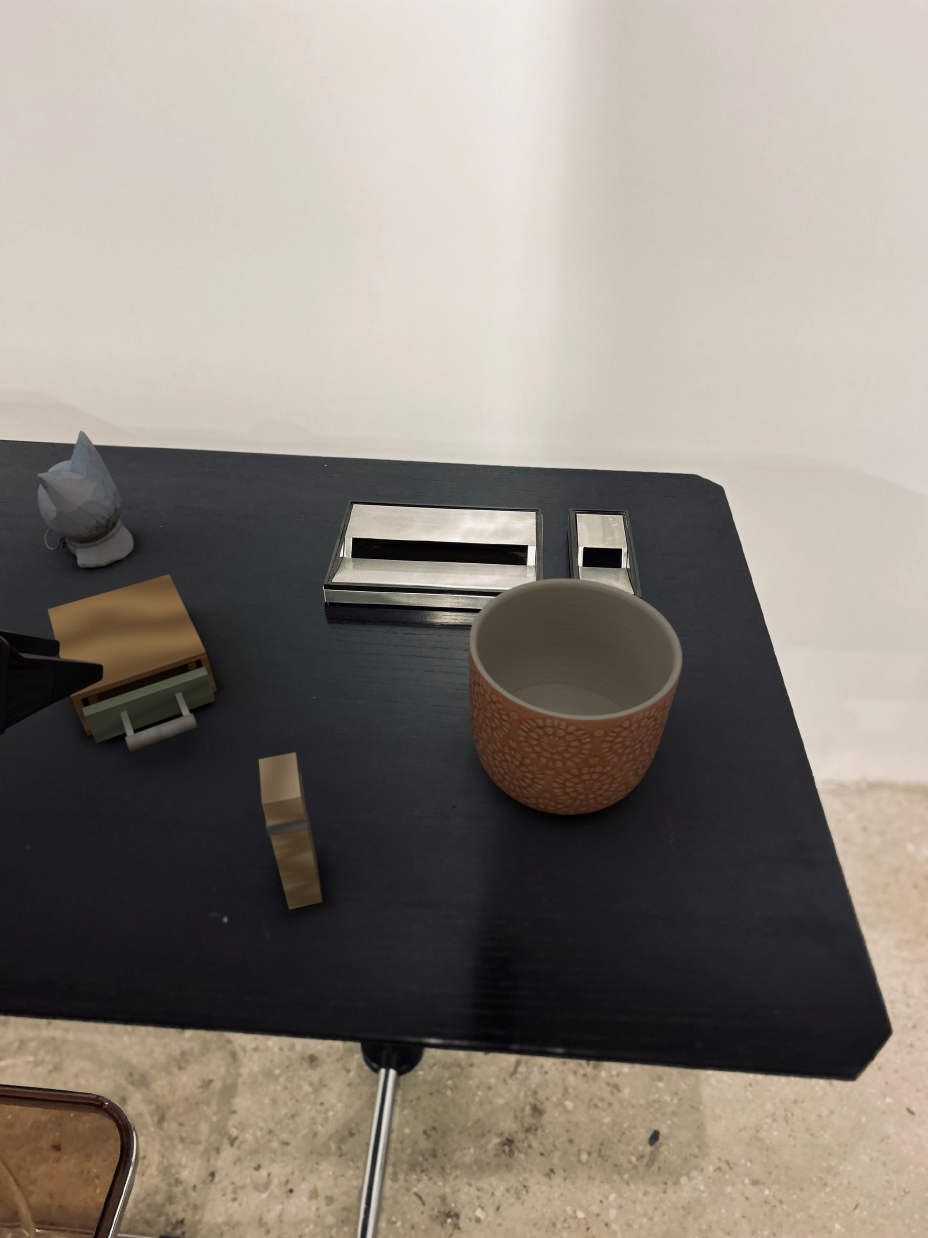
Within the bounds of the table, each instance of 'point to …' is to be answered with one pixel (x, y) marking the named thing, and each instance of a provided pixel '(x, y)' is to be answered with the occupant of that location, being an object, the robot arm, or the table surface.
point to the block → (290, 829)
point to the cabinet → (128, 635)
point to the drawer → (149, 706)
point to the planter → (570, 692)
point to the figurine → (84, 508)
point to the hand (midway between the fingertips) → (79, 658)
